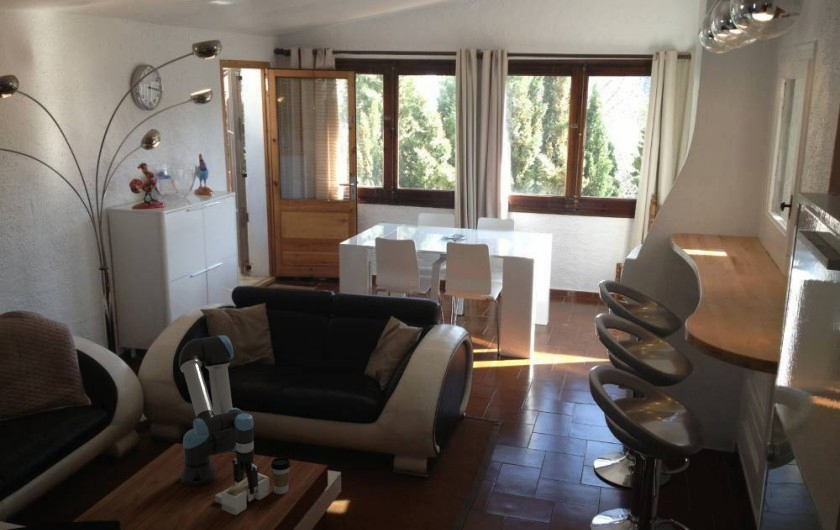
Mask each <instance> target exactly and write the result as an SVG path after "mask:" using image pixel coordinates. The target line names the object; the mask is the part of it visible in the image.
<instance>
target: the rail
mask: <svg viewBox="0 0 840 530" xmlns="http://www.w3.org/2000/svg"><path fill="white" fill-rule="evenodd" d="M261 480H262V476H261V475H258V482H260V481H261ZM236 483H237V482H236ZM230 487H231V488H230ZM230 487H229V489H228V488H227V489H228V490H229V494H230V495H233V496H237V495H238V494H240V493H242V492H243V491H246V497H248V490H247V488H248V487H249V485H248V480H247V477H245V478H243V480H242V481H241V482H239V483H237V484H236V485H235V484H234V485H231V486H230ZM257 489H258V486H256V487H255V488H254V491H256V490H257Z"/></svg>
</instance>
